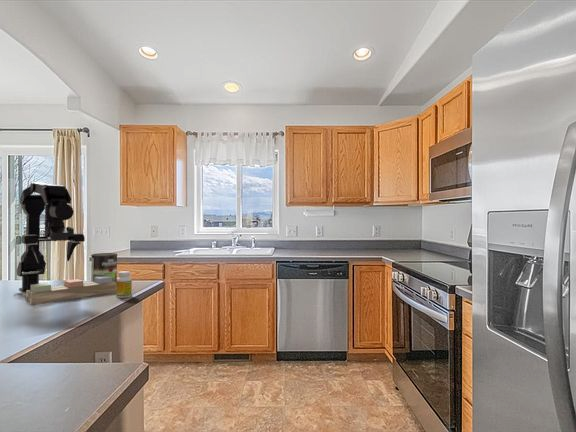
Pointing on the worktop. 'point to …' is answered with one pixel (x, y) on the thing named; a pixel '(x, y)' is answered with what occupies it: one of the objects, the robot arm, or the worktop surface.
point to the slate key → (102, 279)
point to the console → (69, 292)
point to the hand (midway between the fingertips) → (53, 262)
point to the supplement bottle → (124, 285)
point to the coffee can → (104, 265)
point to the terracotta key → (73, 283)
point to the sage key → (40, 287)
